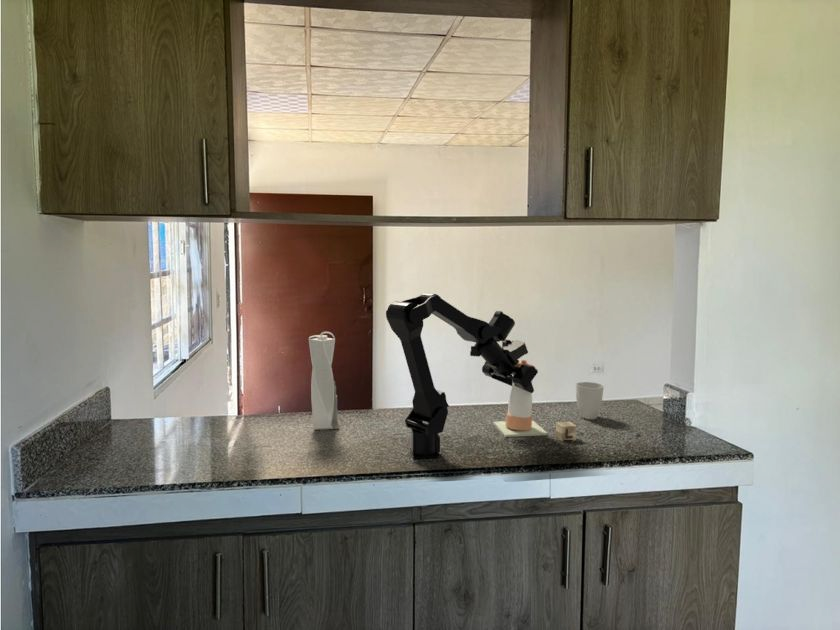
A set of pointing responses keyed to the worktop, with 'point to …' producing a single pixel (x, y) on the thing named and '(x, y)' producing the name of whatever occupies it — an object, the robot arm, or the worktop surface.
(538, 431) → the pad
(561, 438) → the letter cube
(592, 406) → the cup
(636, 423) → the worktop surface
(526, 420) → the pepper shaker
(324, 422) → the skyscraper
